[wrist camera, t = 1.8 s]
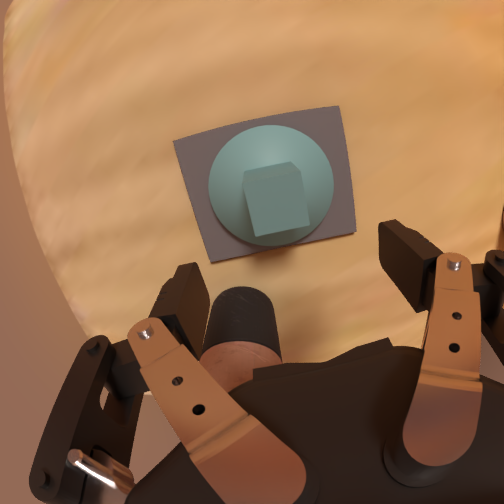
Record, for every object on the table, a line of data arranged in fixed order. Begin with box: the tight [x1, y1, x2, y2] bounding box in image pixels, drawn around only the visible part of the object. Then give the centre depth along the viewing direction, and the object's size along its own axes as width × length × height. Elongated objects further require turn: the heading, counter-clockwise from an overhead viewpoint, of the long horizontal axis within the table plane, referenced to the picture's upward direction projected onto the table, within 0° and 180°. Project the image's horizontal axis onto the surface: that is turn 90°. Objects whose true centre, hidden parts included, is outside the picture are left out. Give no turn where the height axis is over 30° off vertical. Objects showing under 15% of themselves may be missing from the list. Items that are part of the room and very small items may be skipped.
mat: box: [173, 106, 357, 262], centre depth 24 cm, size 15×12×1 cm
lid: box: [208, 125, 334, 246], centre depth 21 cm, size 11×11×6 cm
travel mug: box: [199, 287, 282, 393], centre depth 22 cm, size 8×8×20 cm
